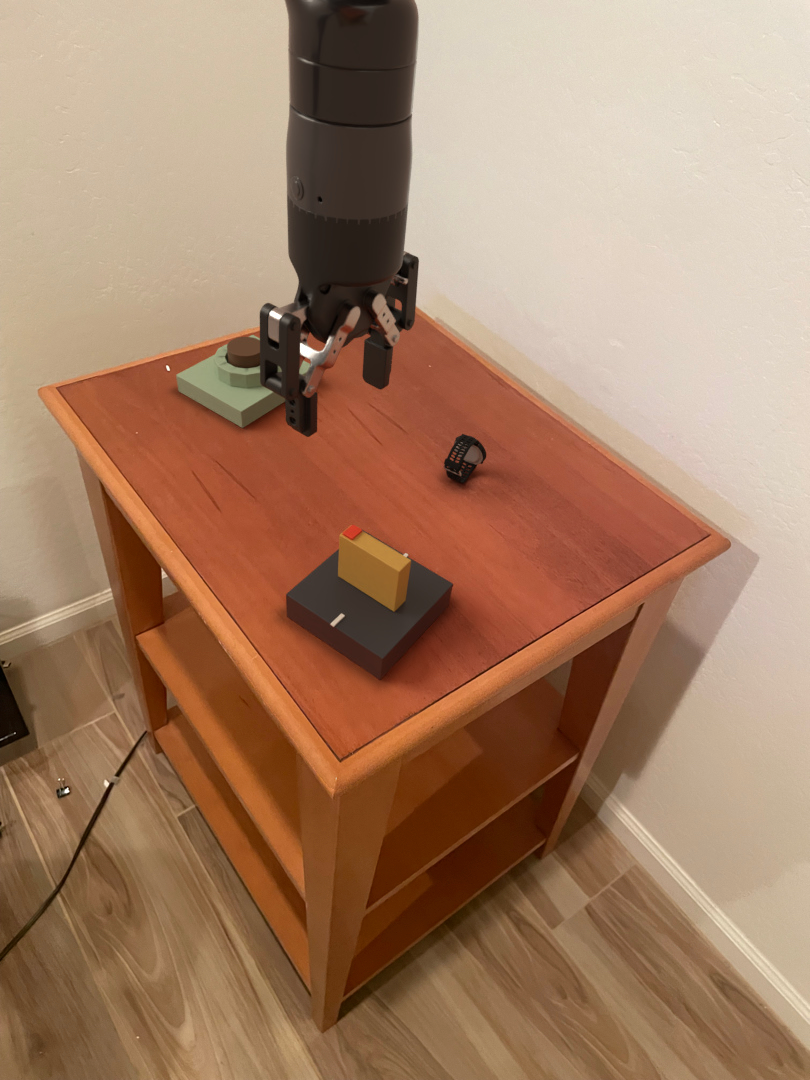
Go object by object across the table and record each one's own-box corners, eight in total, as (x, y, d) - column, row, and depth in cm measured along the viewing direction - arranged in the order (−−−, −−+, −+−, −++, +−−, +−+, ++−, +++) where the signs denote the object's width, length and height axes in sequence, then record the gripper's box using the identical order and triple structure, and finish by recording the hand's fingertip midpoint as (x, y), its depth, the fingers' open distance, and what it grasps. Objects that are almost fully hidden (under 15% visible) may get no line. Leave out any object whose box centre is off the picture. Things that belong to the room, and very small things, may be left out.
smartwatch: (487, 480, 77) (496, 442, 73) (449, 497, 74) (456, 459, 71) (462, 458, 79) (469, 420, 75) (425, 474, 77) (430, 436, 73)
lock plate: (379, 681, 58) (382, 658, 56) (285, 617, 62) (284, 593, 60) (449, 605, 65) (454, 581, 62) (360, 551, 68) (362, 527, 66)
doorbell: (242, 428, 79) (239, 397, 76) (178, 391, 83) (173, 360, 80) (315, 382, 86) (315, 352, 84) (253, 350, 90) (251, 320, 87)
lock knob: (405, 600, 61) (411, 557, 57) (394, 612, 60) (399, 569, 56) (349, 565, 63) (351, 521, 59) (337, 576, 62) (339, 532, 58)
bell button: (246, 374, 80) (245, 360, 79) (220, 360, 82) (219, 346, 80) (272, 359, 83) (271, 346, 81) (246, 346, 84) (245, 332, 83)
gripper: (315, 243, 39) (314, 472, 51) (462, 179, 48) (433, 388, 59) (218, 199, 42) (238, 426, 54) (373, 147, 51) (362, 352, 62)
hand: (340, 406), depth 57 cm, fingers open, 8 cm apart
